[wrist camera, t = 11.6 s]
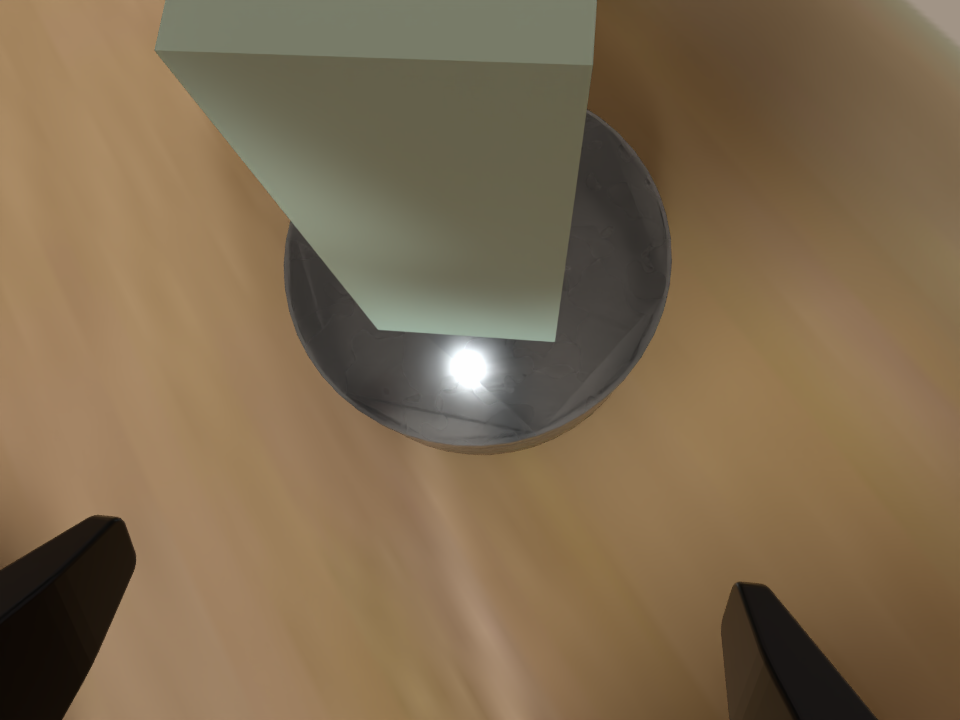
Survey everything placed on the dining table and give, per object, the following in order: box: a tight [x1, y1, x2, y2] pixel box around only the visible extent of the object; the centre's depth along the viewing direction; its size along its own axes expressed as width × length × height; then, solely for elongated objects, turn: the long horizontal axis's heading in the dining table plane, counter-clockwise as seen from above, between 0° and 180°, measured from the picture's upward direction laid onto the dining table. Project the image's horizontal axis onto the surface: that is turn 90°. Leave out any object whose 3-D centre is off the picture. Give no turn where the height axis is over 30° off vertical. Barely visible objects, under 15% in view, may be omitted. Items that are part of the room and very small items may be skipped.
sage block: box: [155, 0, 597, 342], centre depth 14 cm, size 5×5×12 cm
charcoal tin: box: [284, 109, 672, 455], centre depth 22 cm, size 11×11×4 cm
